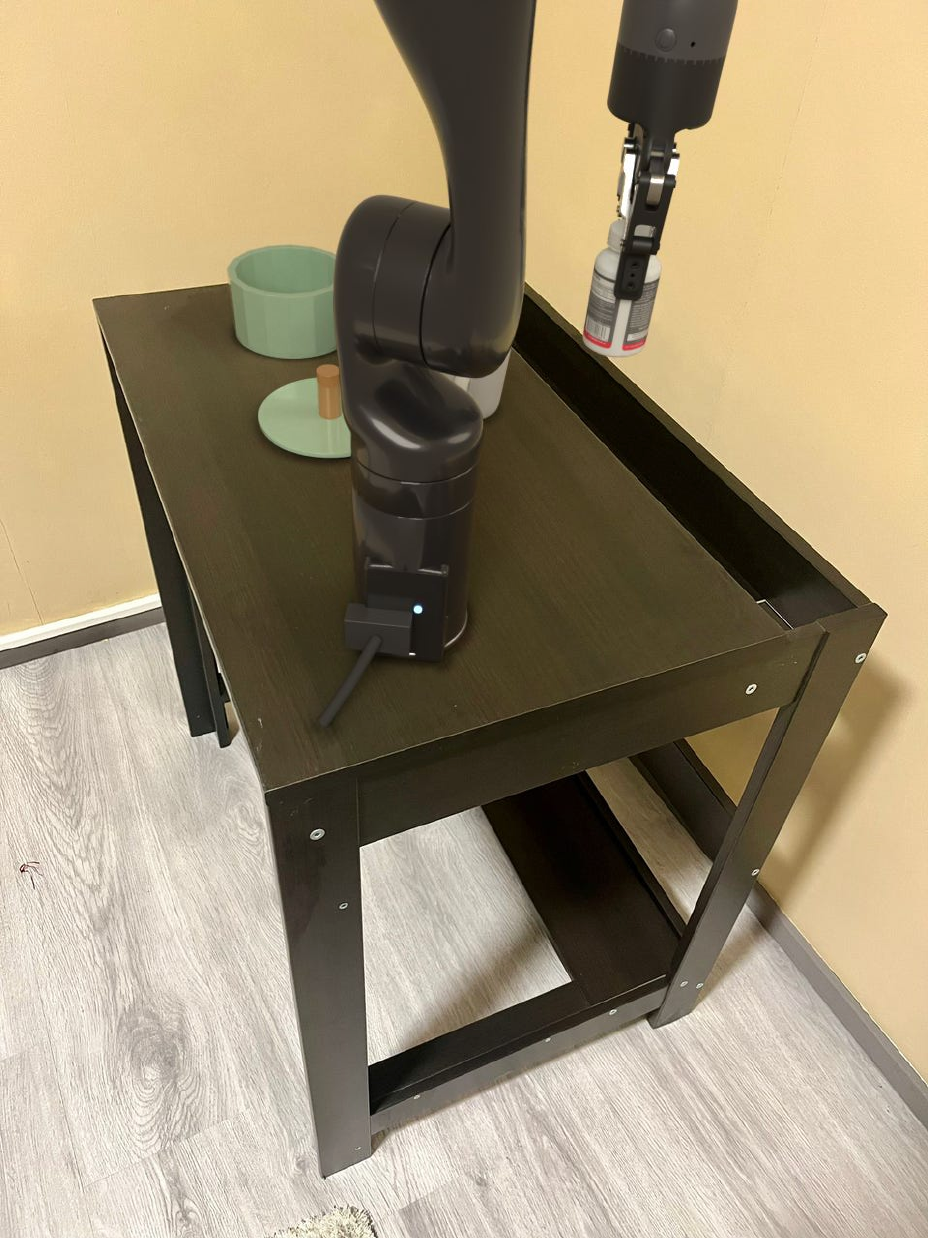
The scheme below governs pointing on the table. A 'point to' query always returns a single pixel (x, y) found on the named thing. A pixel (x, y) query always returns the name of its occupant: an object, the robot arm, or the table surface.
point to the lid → (308, 416)
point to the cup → (485, 388)
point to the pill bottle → (618, 302)
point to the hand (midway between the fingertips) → (624, 280)
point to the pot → (284, 301)
